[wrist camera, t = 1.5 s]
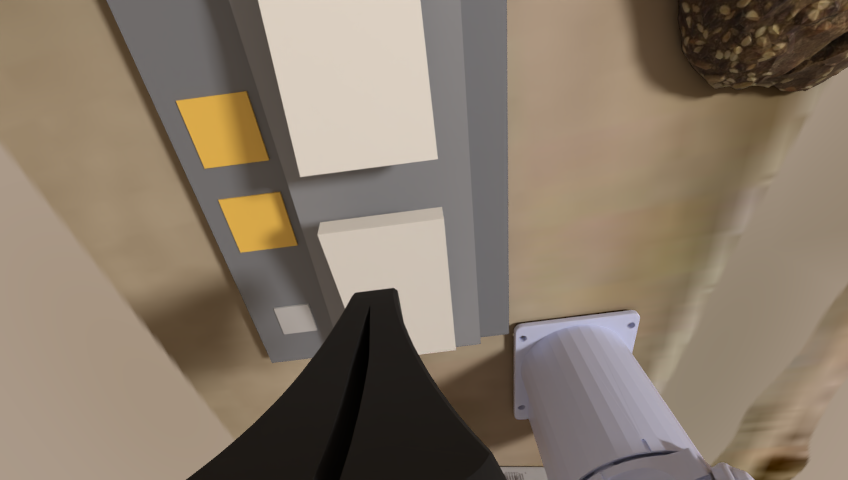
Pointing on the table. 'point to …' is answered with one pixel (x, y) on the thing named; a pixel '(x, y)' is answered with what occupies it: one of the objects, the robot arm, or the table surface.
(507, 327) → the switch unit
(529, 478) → the coffee box
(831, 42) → the bread roll
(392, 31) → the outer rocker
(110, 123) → the table surface
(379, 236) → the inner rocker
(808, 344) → the table surface
